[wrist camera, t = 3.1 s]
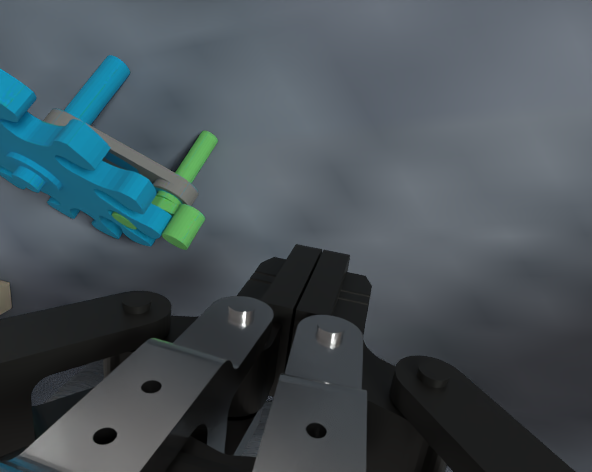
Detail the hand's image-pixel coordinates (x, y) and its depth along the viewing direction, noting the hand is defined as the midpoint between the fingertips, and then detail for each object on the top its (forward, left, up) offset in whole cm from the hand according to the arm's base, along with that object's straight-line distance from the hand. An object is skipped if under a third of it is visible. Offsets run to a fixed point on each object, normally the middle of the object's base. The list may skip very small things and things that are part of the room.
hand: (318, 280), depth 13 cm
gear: (+10, -1, -7) cm, 12 cm away
